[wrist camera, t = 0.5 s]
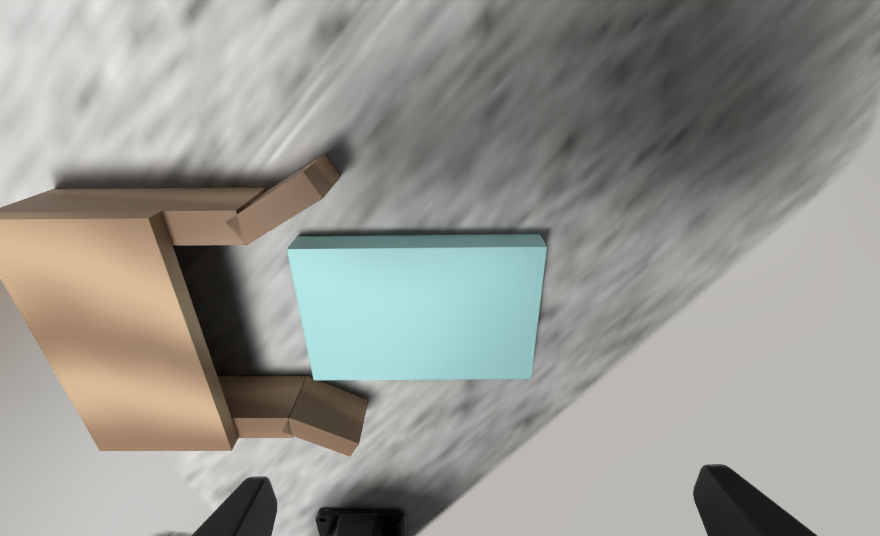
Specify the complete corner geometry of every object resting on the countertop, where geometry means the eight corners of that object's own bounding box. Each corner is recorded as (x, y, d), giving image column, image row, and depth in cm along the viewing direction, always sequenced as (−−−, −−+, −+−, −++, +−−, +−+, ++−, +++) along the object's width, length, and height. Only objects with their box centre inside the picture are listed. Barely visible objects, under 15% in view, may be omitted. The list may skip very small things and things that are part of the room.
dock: (369, 412, 26) (358, 469, 22) (155, 413, 26) (111, 469, 23) (337, 153, 18) (313, 177, 15) (38, 156, 19) (-57, 180, 15)
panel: (524, 355, 24) (531, 379, 23) (322, 356, 25) (313, 380, 23) (537, 230, 21) (546, 246, 19) (300, 232, 21) (287, 249, 19)
